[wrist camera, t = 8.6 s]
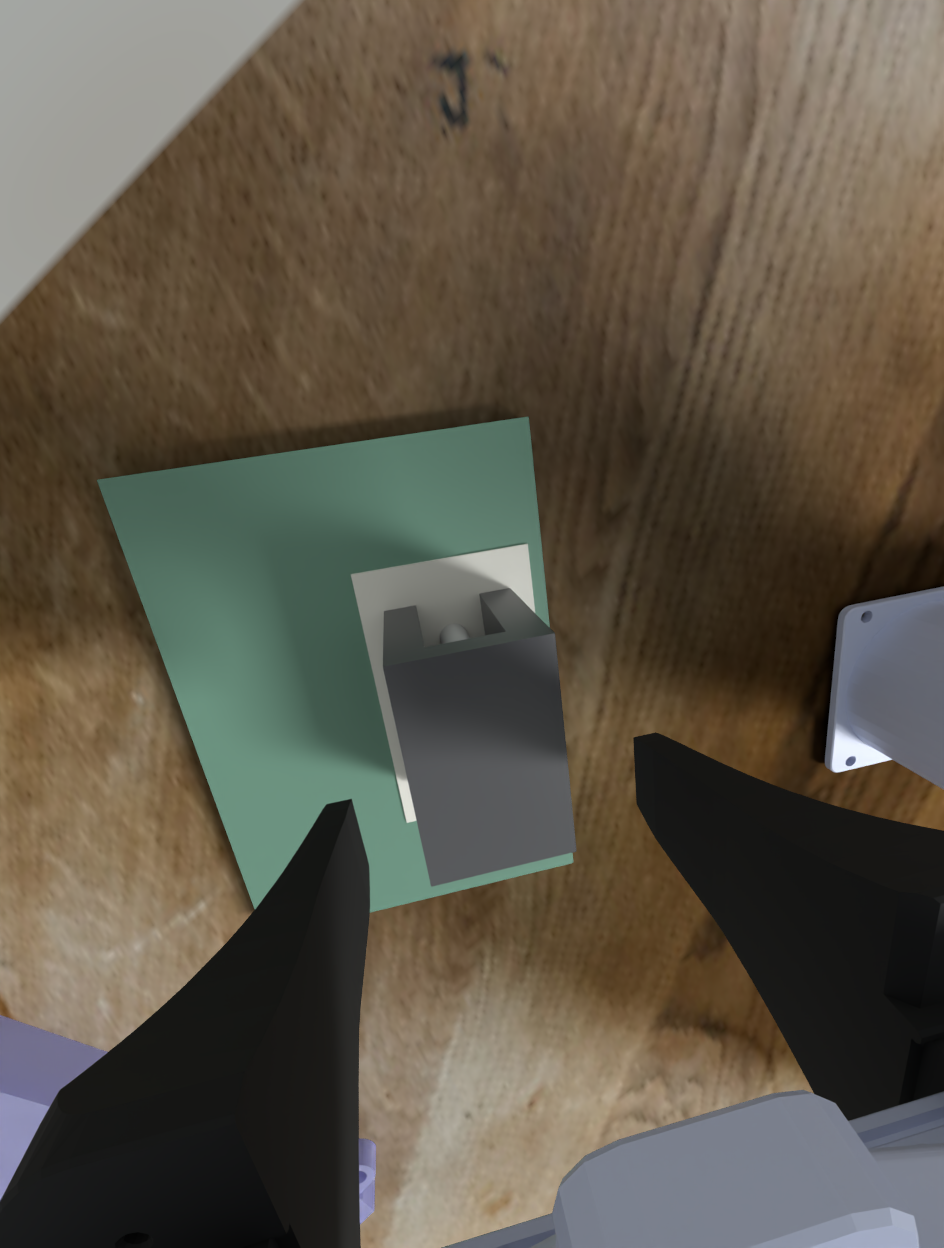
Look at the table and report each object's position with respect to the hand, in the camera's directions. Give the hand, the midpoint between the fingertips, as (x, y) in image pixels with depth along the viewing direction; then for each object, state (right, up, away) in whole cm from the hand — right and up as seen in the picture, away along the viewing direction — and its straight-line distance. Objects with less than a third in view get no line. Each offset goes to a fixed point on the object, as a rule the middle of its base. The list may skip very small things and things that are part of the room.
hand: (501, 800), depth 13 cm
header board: (-4, +2, +7) cm, 8 cm away
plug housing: (-1, +2, +6) cm, 6 cm away
